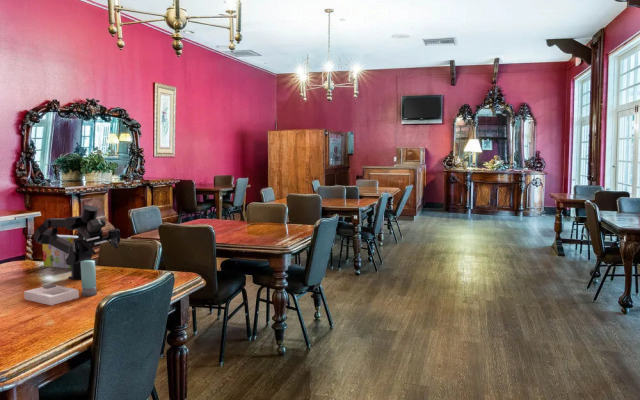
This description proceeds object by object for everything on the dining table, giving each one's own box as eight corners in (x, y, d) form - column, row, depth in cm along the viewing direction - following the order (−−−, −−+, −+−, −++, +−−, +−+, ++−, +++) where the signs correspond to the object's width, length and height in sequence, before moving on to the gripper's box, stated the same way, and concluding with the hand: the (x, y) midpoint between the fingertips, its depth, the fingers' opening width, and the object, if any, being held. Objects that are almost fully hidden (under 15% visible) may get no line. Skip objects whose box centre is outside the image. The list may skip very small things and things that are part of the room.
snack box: (86, 267, 242) (85, 235, 241) (77, 269, 237) (76, 237, 235) (52, 264, 249) (50, 233, 248) (42, 266, 244) (40, 235, 242)
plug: (79, 295, 195) (77, 261, 194) (90, 292, 199) (89, 259, 198) (87, 297, 192) (86, 263, 191) (99, 293, 197) (97, 260, 196)
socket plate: (24, 299, 190) (24, 289, 190) (52, 291, 200) (52, 282, 199) (51, 305, 182) (50, 295, 182) (78, 297, 192) (78, 288, 192)
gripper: (65, 221, 205) (82, 238, 196) (111, 211, 218) (128, 227, 209) (66, 244, 210) (83, 263, 201) (111, 233, 223) (128, 250, 214)
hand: (106, 250), depth 206 cm, fingers open, 9 cm apart
